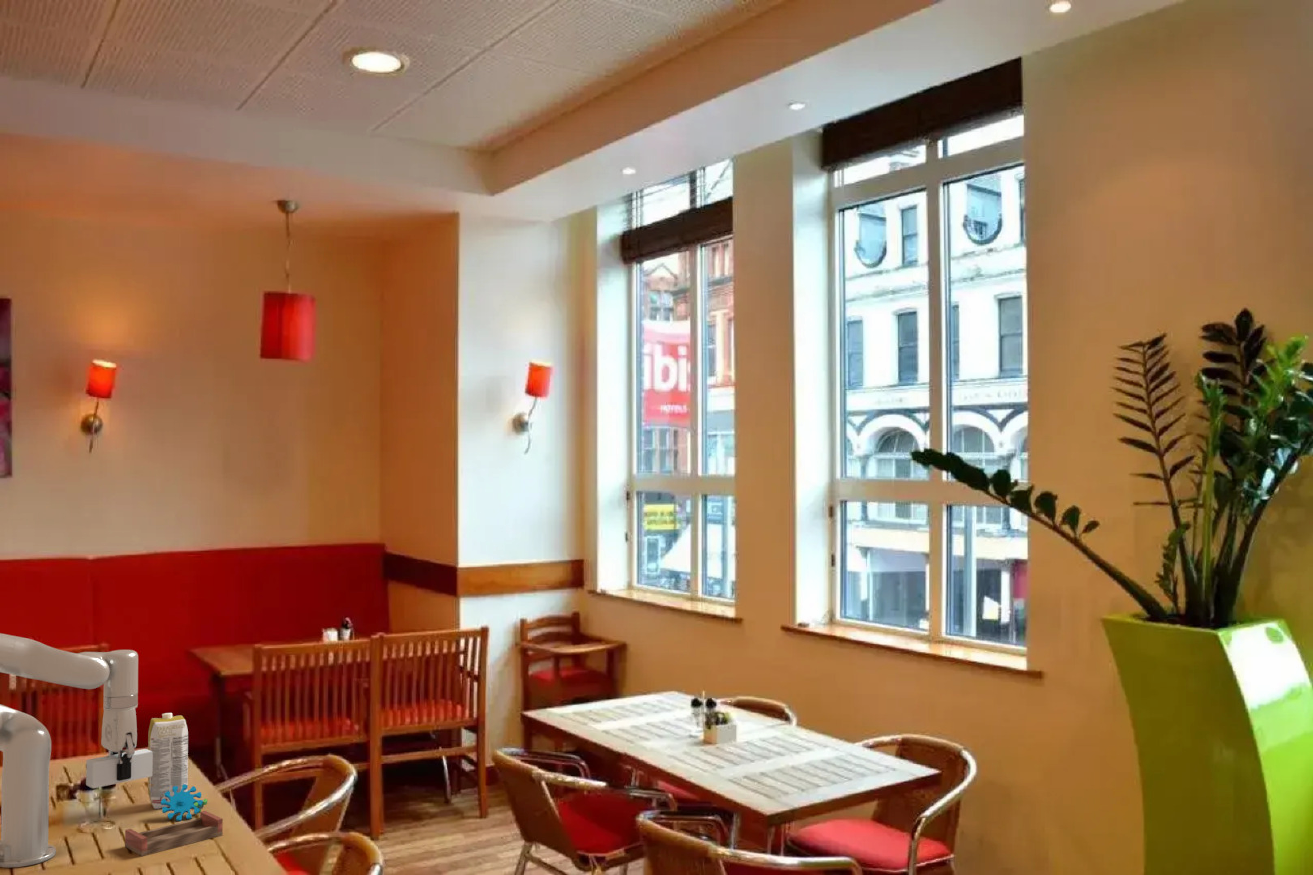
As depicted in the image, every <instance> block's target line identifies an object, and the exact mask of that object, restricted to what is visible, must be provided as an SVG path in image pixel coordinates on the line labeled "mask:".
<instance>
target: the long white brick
mask: <svg viewBox="0 0 1313 875" xmlns="http://www.w3.org/2000/svg"><path fill="white" fill-rule="evenodd" d="M134 751H135V753H134V755H133V756H132V762H131V778H130V779H125V780H121V781H118V780H117V764H119V763H118V754H115V755H110V756H108V755H105V756H100V757H94V758H90V759H86V765H85V766H86V767H85V768H86V769H85V770H86V774H85V776H86V779H85V785H86V786H87V787H89V788H90V789H97V788H101V787H107V786H111V785H117V784H120V783H127V782H130V781H135V780H139V779H140V780H141V779H145V778H148V777H151V776H152V774H153V752H152V751H150V750H148V749H147V748H144V749H138V750H134ZM124 754H126V752H125V753H122V757H123V755H124Z"/></svg>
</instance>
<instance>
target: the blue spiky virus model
mask: <svg viewBox="0 0 1313 875" xmlns="http://www.w3.org/2000/svg"><path fill="white" fill-rule="evenodd" d="M188 785H189V784H188ZM188 785H186V784H183V785H182V790H181V791H180V792H179V793H177V792H176V791H177V790H178V786H174V787H173V788H172V790H173V792H174V796H170V792H169V791H167V792H166V793H165V794H164V795H165V797H167V798H169V799H170V802H167V801H166V799H162V801H161V805H168V806H170V807H163V808H161V812H162V814H166V813H167V812H168V813H167V818H168V819H169V820H172V818H174V816H176V815H177V814H179V815H177V816H176V818H175V820H176V821H177V822H181V821H182V820H183V816H184V814H185V813H187V814H186V815H185V819H186V820H190V819H191V820H192V818H193V817H192V816H193V815H192V813H191V810H193V813H194V814H195V815H196V814H197V815H198V814H199V813H200V812H202V809H203V808H204V806H207V805H208V799H207V798H204V799H201V798H202V792H201V791H198V792H197V793H195V792H196V791H197V787H195V786H194V785H193V786H191V787H190V789H187V787H188ZM186 789H187V791H186V792H184V790H186ZM195 798H198V799H195Z"/></svg>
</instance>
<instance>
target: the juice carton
mask: <svg viewBox="0 0 1313 875" xmlns="http://www.w3.org/2000/svg"><path fill="white" fill-rule="evenodd" d="M161 716H162V717H159V718H158V717H154V718H153V717H152V718H151V719H150V723H149V728H148V735H147V736H148V737H147V738H148V739H147V740H148V741H147V743H148V746H147V748H148V750H150V751H152V752H153V774H152V776H151V777H147V794H148V797H149V801H150V804H151V805H152V807H153V809H155V810H156V809H162V808H163V807H167V808H170V806H168V805H161V801H162V799H166V801H167V802H170V799H169V798H167V797H165V795H164V794H165V793H166V792H167V791H169V792H170V796H174V792H173V790H172V788H173V787H174V786H178V790H177V791H176V792H177V793H179V792H180V791H181V790H182V785H183V784H186V785H189V783H188V782H189V781H188V776H189V772H188V769H189V767H188V766H189V761H188V760H189V758H188V757H189V756H188V755H189V754H188V753H189V731H188V724H187V720H186V718H185V717H184V716H183V715H175V716H174V715H173V713H172V712H165V713H162V714H161ZM188 790H189V789H188V787H187V789H186V790H184V792H186V791H188Z"/></svg>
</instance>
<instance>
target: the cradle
mask: <svg viewBox="0 0 1313 875" xmlns="http://www.w3.org/2000/svg"><path fill="white" fill-rule="evenodd" d="M223 824H224V822H223V818H222V817H219V816H218V815H215V814H213V813H211V812H209V811H207V810H201V812H199V817H198V818H194V819H191V820H190V819H188V820H186V821H182V822H181V821H180V822H178V823H174V824H169V825H165V826H162V827H157V828H154V829H149V830H145V831H141V832H137V831H136V830H134V829H132V828H128V829H125V832H124V835H125V836H124V838H125V839H124V841H125V842H124V843H125V845H124V847H125V848H126V849H128V850H130V851H132V852H133V853H136V854H137V855H139V856H140V857H144V856H149V855H152V854H155V853H160V852H163V851H167V850H171V849H175V848H178V847H183V846H187V845H190V844H194V843H197V842H202V841H206V840H209V839H212V838H217V837H221V836H223Z"/></svg>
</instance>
